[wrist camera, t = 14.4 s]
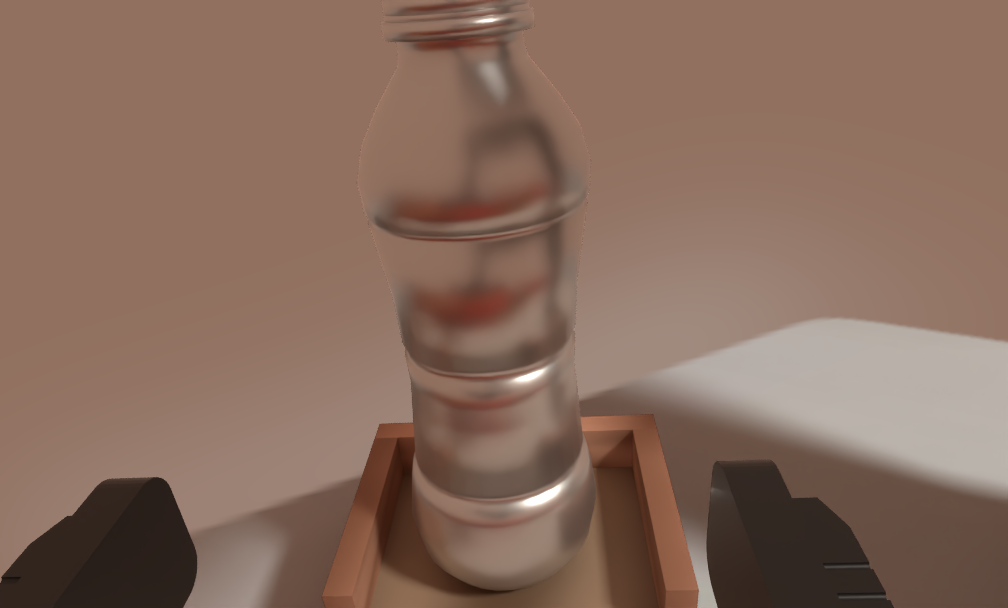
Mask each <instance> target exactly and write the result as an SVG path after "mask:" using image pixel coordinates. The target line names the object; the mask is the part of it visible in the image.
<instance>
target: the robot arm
mask: <svg viewBox="0 0 1008 608" xmlns="http://www.w3.org/2000/svg"><path fill="white" fill-rule="evenodd" d="M707 561H708V569H709V575H710V580H711V585H712V589H713V592H714V596H715V599H716V603H717V607H718V608H894V607H893V605H892V603H891V601H890V600H887V598H886V594H885V593H886V592H885V590H884V588H883V587H882V585H881V583H880V581H879V579H878V577H877V576H876V574H875V572H874V570H873V569H870V567H869V561H868V559H867V558H866V556H865V554H864V552H863V550H862V548H861V547H860V545H859V543H858V541H857V539H856V538H855V536H854V534H853V532H852V530H851V528H850V527H849V526H848V525H847V524H846V523H845V522H844V521H843V520H841V519H840V518H839V517H838V516H837V515H836V514H835V513H834V512H833V511H831V510H830V509H829V508H828V507H827V506H826V505H825V504H824V503H823V502H821V501H820V500H819V499H818V498H791V495H790V493H789V491H788V489H787V487H786V485H785V483H784V481H783V479H782V476H781V474H780V472H779V470H778V468H777V466H776V465H775V463H774V462H773V461H772V460H748V461H717V462H715V464H714V466H713V472H712V482H711V494H710V506H709V517H708V529H707ZM196 573H197V555H196V550H195V547H194V544H193V542H192V540H191V537H190V535H189V532H188V530H187V527H186V525H185V523H184V520H183V518H182V515H181V513H180V510H179V508H178V505H177V503H176V501H175V498H174V496H173V493H172V491H171V488H170V486H169V484H168V483H167V482H166V481H165V480H164V479H162V478H158V477H153V478H120V479H107V480H105V481H103V482H101V483H100V484H99V485H98V486H97V487H96V488H95V489H94V490H93V491H92V493H91V494H90V495H89V496H88V497H87V499H86V500H85V501H84V502H83V504H82V505H81V506H80V507H79V508H78V510H77V511H76V512H75V513H74V514H73V515H72V516H67V517H65V518H64V519H63V520H61V521H60V522H59V523H58V524H56V525H55V526H53V527H52V528H51V529H50V530H48V531H47V532H46V533H44V534H43V535H42V536H40V537H39V538H37V539H36V540H35V541H34V542H32V543H31V544H30V545H29V546H28V547H27V548H26V549H25V550H24V552H23V553H22V554H21V555H20V556H19V557H18V558H17V560H16V561H15V562H14V563H13V564H12V565H11V567H10V568H9V569H8V570H7V571H6V573H5V574H4V575H3V576H2V577H1V578H2V581H1V583H0V608H183V606H184V605H185V603H186V601H187V599H188V597H189V595H190V593H191V591H192V589H193V586H194V582H195V578H196Z"/></svg>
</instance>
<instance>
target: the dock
mask: <svg viewBox="0 0 1008 608" xmlns="http://www.w3.org/2000/svg"><path fill="white" fill-rule="evenodd" d="M581 423H582V431H583V434H584V437H585V439H586V442H587V446H588V449H589V453H590V456H591V462H592V468H593V473H594V479H595V487H596V499H595V505H594V510H593V514H592V519H591V524H590V528H589V533H588V536H587V538H586V540H585V542H584V544H583V546H582V548H581V549H580V550H579V552H578V553H577V554H576V555H575V557H574V558H573V559H572V560H571V561H569V562H568V563H567V564H566V565H565V566H564V567H563V568H561V569H560V570H559V571H558V572H556V573H555V574H554V575H553V576H551V577H549V578H547V579H546V580H544V581H542V582H540V583H537V584H534V585H532V586H529V587H526V588H520V589H515V590H499V591H495V590H488V589H481V588H478V587H475V586H472V585H469V584H467V583H465V582H463V581H461V580H459V579H457V578H456V577H454V576H452V575H450V574H448V573H447V572H445V571H444V570H443V569H442V568H440V567H439V566H438V565H437V564H436V563H435V562H434V561H433V559H432V558H431V556H430V555H429V553H428V552H427V550H426V547H425V545H424V543H423V540H422V538H421V536H420V533H419V531H418V529H417V526H416V523H415V520H414V517H413V514H412V468H413V458H414V454H415V439H414V423H393V424H392V423H391V424H380V425H379V428H378V431H377V434H376V436H375V439H374V443H373V445H372V448H371V451H370V454H369V458H368V460H367V463H366V466H365V469H364V472H363V475H362V478H361V481H360V484H359V487H358V490H357V493H356V496H355V499H354V502H353V505H352V508H351V511H350V514H349V517H348V520H347V523H346V526H345V529H344V532H343V535H342V538H341V541H340V544H339V547H338V550H337V553H336V556H335V559H334V562H333V565H332V568H331V571H330V573H329V576H328V579H327V582H326V585H325V588H324V591H323V594H322V599H323V602H324V605H325V608H697V604H698V593H699V589H698V585H697V582H696V578H695V574H694V570H693V566H692V562H691V559H690V555H689V551H688V547H687V543H686V539H685V535H684V532H683V528H682V524H681V520H680V516H679V512H678V508H677V505H676V501H675V497H674V493H673V489H672V485H671V481H670V478H669V474H668V470H667V466H666V462H665V458H664V455H663V451H662V447H661V443H660V439H659V435H658V431H657V428H656V424H655V420H654V416H653V414H645V415H617V416H589V417H581Z"/></svg>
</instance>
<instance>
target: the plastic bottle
mask: <svg viewBox="0 0 1008 608" xmlns="http://www.w3.org/2000/svg"><path fill="white" fill-rule="evenodd" d="M381 4H382V10H383V16H384V21H382V22H381V28H382V35H383V40H384V41H388V42H395V43H396V45H397V51H398V53H397V55H398V58H397V60H398V62H397V65H398V66H397V68H396V70H395V72H394V74H393V76H392V78H391V80H390V82H389V84H388V86H387V88H386V90H385V92H384V94H383V96H382V98H381V99H380V101H379V103H378V105H377V107H376V109H375V112H374V115H373V117H372V120H371V122H370V125H369V127H368V130H367V133H366V135H365V138H364V140H363V143H362V146H361V153H360V161H359V170H358V178H357V185H358V189H359V193H360V197H361V200H362V205H363V210H364V213H365V215H366V217H367V218H368V219H369V220H368V225H369V228H370V231H371V234H372V237H373V240H374V243H375V246H376V249H377V252H378V255H379V258H380V261H381V264H382V267H383V270H384V273H385V277H386V280H387V283H388V286H389V289H390V292H391V295H392V298H393V301H394V306H395V310H396V315H397V320H398V324H399V329H400V333H401V338H402V342H403V344H404V346H405V353H406V354H405V355H406V361H407V365H408V370H409V374H410V379H411V389H412V405H413V423H414V439H415V454H414V458H413V468H412V514H413V517H414V520H415V523H416V526H417V529H418V531H419V533H420V536H421V538H422V540H423V543H424V545H425V547H426V550H427V552H428V553H429V555H430V556H431V558H432V559H433V561H434V562H435V563H436V564H437V565H438V566H439V567H440V568H442V569H443V570H444V571H445V572H447V573H448V574H450V575H452V576H454V577H456V578H457V579H459V580H461V581H463V582H465V583H467V584H469V585H472V586H475V587H478V588H481V589H488V590H495V591H499V590H515V589H520V588H526V587H529V586H532V585H534V584H537V583H540V582H542V581H544V580H546V579H547V578H549V577H551V576H553V575H554V574H555V573H556V572H558V571H559V570H560V569H561V568H563V567H564V566H565V565H566V564H567V563H568V562H569V561H571V560H572V559H573V558H574V557H575V555H576V554H577V553H578V552H579V550H580V549H581V548H582V546H583V544H584V542H585V540H586V538H587V536H588V533H589V528H590V524H591V519H592V514H593V510H594V505H595V499H596V487H595V479H594V473H593V468H592V462H591V456H590V453H589V449H588V446H587V442H586V439H585V437H584V434H583V431H582V423H581V414H580V406H579V398H578V390H577V382H576V374H575V365H574V352H575V351H574V350H575V333H574V328H575V324H576V323H575V322H576V292H577V290H576V289H577V277H578V269H579V262H580V255H581V247H582V240H583V232H584V225H585V217H586V209H587V195H588V193H589V186H590V168H591V159H590V155H589V151H588V148H587V145H586V141H585V139H584V135H583V132H582V129H581V125H580V123H579V122H578V120H577V119H576V117H575V116H574V114H573V113H572V111H571V110H570V108H569V107H568V105H567V104H566V102H565V101H564V99H563V98H562V96H561V95H560V93H559V92H558V91H557V89H556V88H555V87H554V86H553V85H552V83H551V82H550V81H549V80H548V78H547V77H546V76H545V75H544V74H543V72H542V71H541V70H540V69H539V68H538V66H537V65H536V64H535V63H534V62H533V60H532V59H531V58H530V57H529V56H528V54H527V50H526V45H525V42H524V34H523V31H524V30H527V29H530V28H533V27H535V21H534V9H533V8H531V7H530V6H529V0H381Z"/></svg>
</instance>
